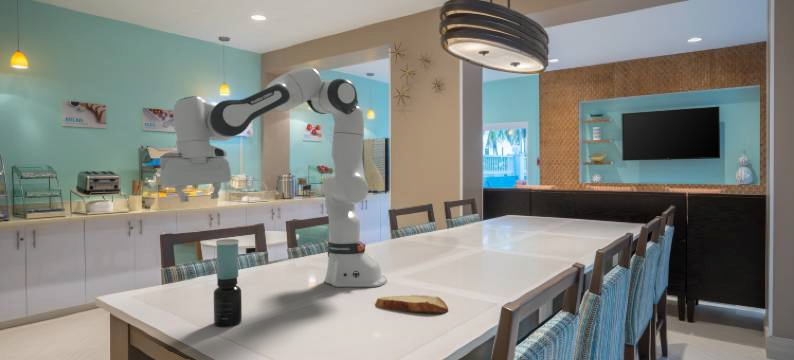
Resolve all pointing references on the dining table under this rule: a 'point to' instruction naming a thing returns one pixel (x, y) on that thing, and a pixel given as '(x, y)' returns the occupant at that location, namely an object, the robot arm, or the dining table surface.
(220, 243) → the cup
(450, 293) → the dining table surface
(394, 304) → the slice of bread
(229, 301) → the supplement bottle
